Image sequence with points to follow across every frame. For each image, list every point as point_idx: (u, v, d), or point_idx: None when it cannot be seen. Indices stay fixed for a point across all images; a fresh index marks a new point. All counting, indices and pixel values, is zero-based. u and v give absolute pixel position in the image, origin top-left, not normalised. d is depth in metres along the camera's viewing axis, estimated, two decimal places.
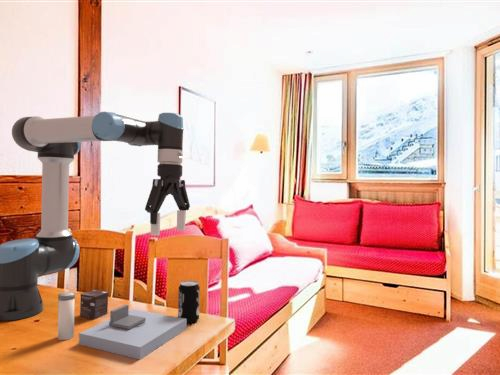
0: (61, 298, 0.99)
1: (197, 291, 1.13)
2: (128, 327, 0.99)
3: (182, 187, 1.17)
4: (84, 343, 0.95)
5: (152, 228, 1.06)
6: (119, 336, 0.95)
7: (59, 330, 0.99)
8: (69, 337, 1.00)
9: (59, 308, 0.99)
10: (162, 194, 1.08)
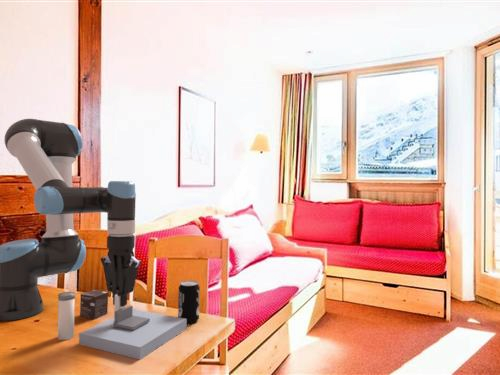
0: (61, 298, 0.99)
1: (197, 291, 1.13)
2: (132, 328, 0.98)
3: None
4: (84, 343, 0.95)
5: None
6: (119, 336, 0.95)
7: (59, 330, 0.99)
8: (69, 337, 1.00)
9: (59, 308, 0.99)
10: None
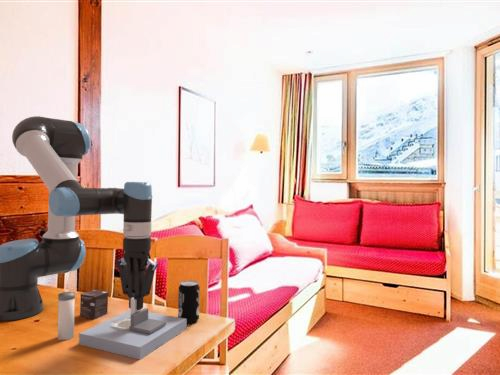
0: (61, 298, 0.99)
1: (197, 291, 1.13)
2: (149, 331, 0.96)
3: None
4: (84, 343, 0.95)
5: None
6: (119, 336, 0.95)
7: (59, 330, 0.99)
8: (69, 337, 1.00)
9: (59, 308, 0.99)
10: None
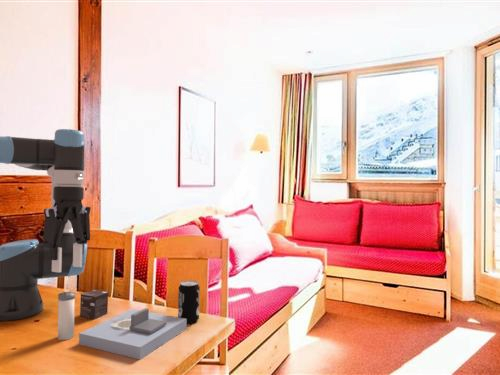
0: (61, 298, 0.99)
1: (197, 291, 1.13)
2: (150, 331, 0.96)
3: (85, 214, 1.05)
4: (84, 343, 0.95)
5: (53, 264, 0.97)
6: (119, 336, 0.95)
7: (59, 330, 0.99)
8: (69, 337, 1.00)
9: (59, 308, 0.99)
10: (60, 224, 0.97)
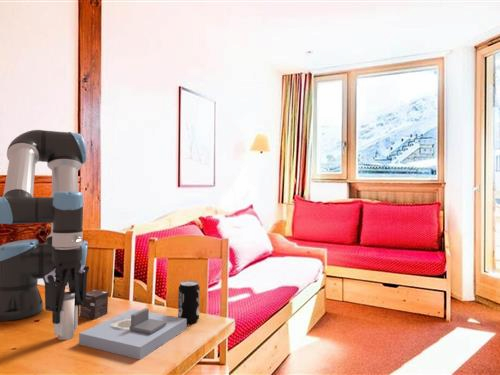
0: None
1: (197, 291, 1.13)
2: (150, 331, 0.96)
3: (83, 273, 1.05)
4: (84, 343, 0.95)
5: (55, 327, 0.99)
6: (119, 336, 0.95)
7: None
8: (69, 337, 1.00)
9: None
10: (60, 287, 0.98)
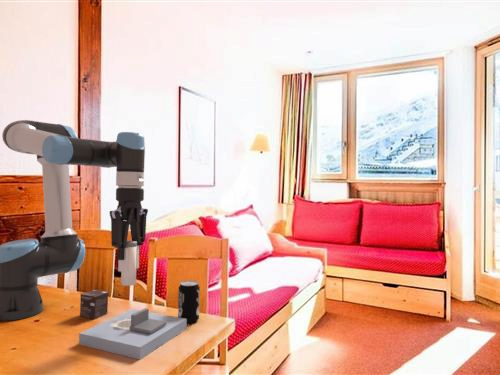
0: None
1: (197, 291, 1.13)
2: (150, 331, 0.96)
3: (143, 215, 1.07)
4: (84, 343, 0.95)
5: (119, 264, 1.01)
6: (119, 336, 0.95)
7: (123, 276, 1.01)
8: (132, 283, 1.02)
9: None
10: (124, 225, 1.00)
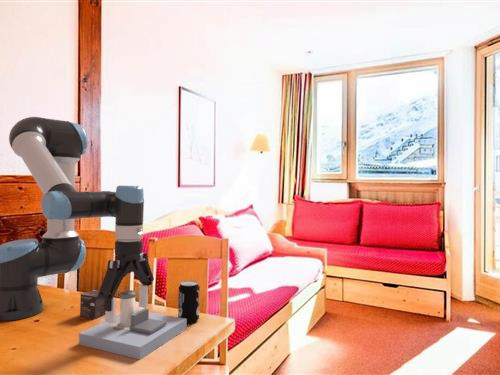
0: (123, 296, 1.01)
1: (197, 291, 1.13)
2: (150, 331, 0.96)
3: (144, 261, 1.08)
4: (84, 343, 0.95)
5: (106, 315, 0.97)
6: (119, 336, 0.95)
7: (122, 327, 1.02)
8: None
9: (121, 306, 1.02)
10: (119, 276, 0.99)
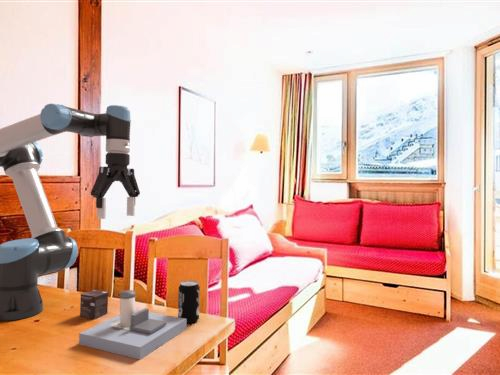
0: (123, 296, 1.01)
1: (197, 291, 1.13)
2: (150, 331, 0.96)
3: (131, 175, 1.26)
4: (84, 343, 0.95)
5: (98, 212, 1.14)
6: (119, 336, 0.95)
7: None
8: None
9: (121, 306, 1.02)
10: (108, 181, 1.16)
